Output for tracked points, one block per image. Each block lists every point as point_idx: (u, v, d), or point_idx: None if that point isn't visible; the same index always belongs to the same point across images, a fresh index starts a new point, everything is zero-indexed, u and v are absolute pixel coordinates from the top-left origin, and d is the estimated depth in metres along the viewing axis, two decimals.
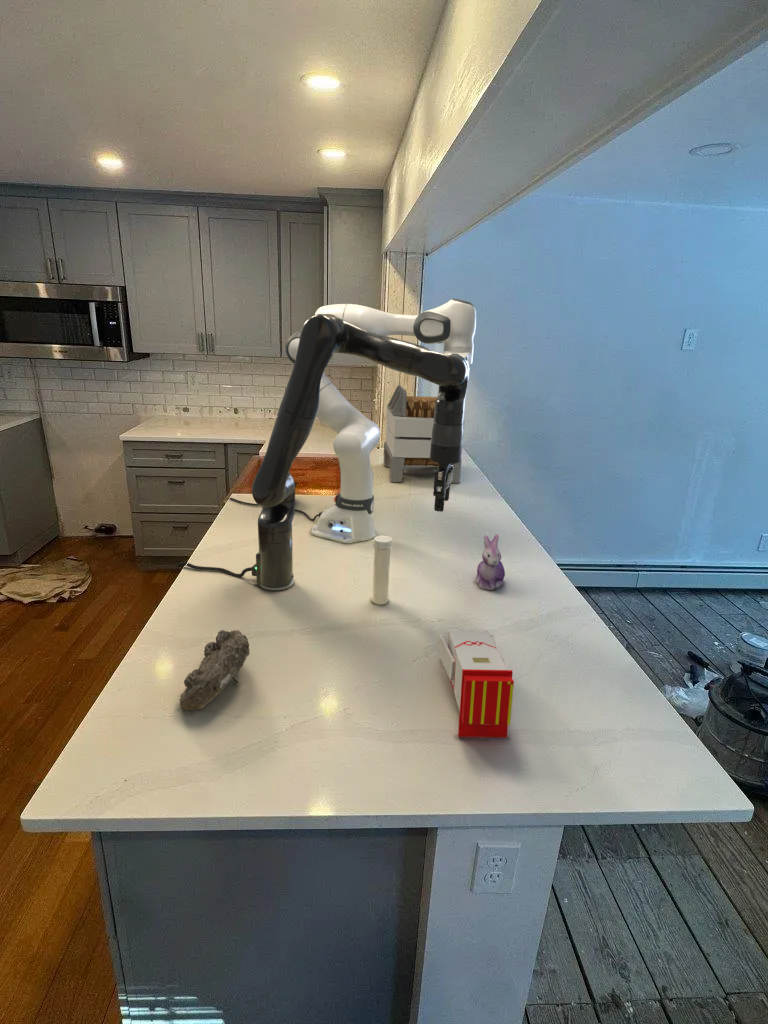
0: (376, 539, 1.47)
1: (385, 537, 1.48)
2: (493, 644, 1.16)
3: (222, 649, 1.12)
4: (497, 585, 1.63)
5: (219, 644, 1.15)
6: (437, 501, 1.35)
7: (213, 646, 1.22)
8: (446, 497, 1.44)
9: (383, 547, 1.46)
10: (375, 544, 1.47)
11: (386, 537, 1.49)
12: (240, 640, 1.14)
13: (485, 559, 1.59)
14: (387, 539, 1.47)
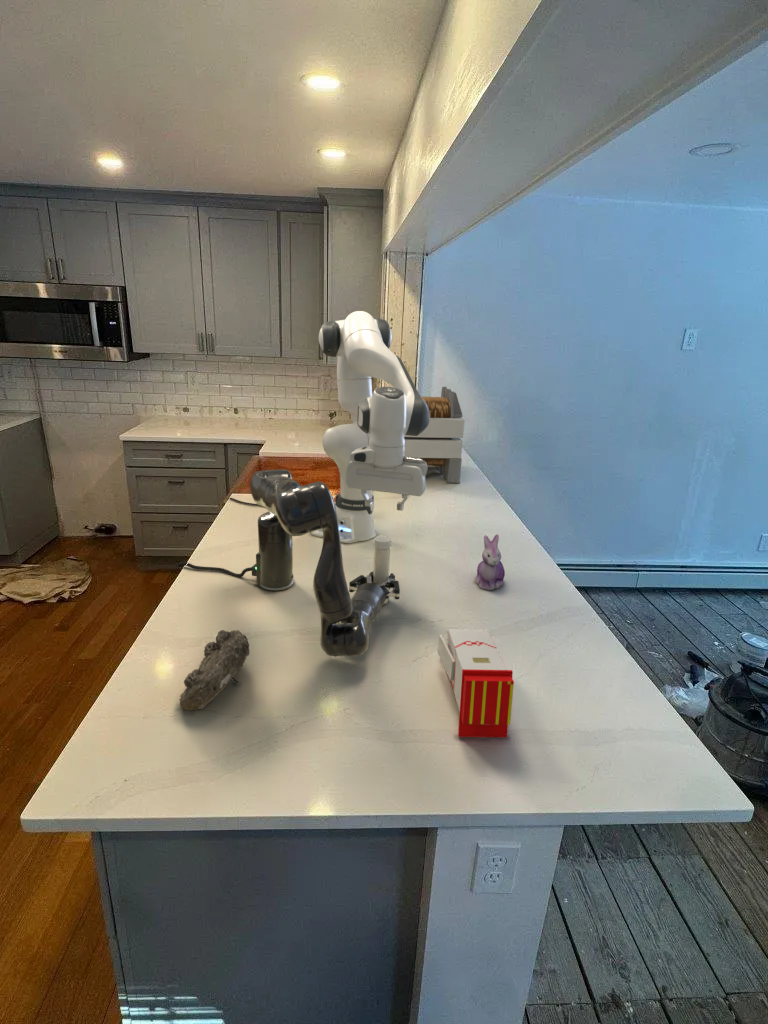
0: (376, 539, 1.47)
1: (385, 537, 1.48)
2: (493, 644, 1.16)
3: (222, 649, 1.12)
4: (497, 585, 1.63)
5: (219, 644, 1.15)
6: None
7: (213, 646, 1.22)
8: None
9: (383, 547, 1.46)
10: (375, 544, 1.47)
11: (386, 537, 1.49)
12: (240, 640, 1.14)
13: (485, 559, 1.59)
14: (387, 539, 1.47)
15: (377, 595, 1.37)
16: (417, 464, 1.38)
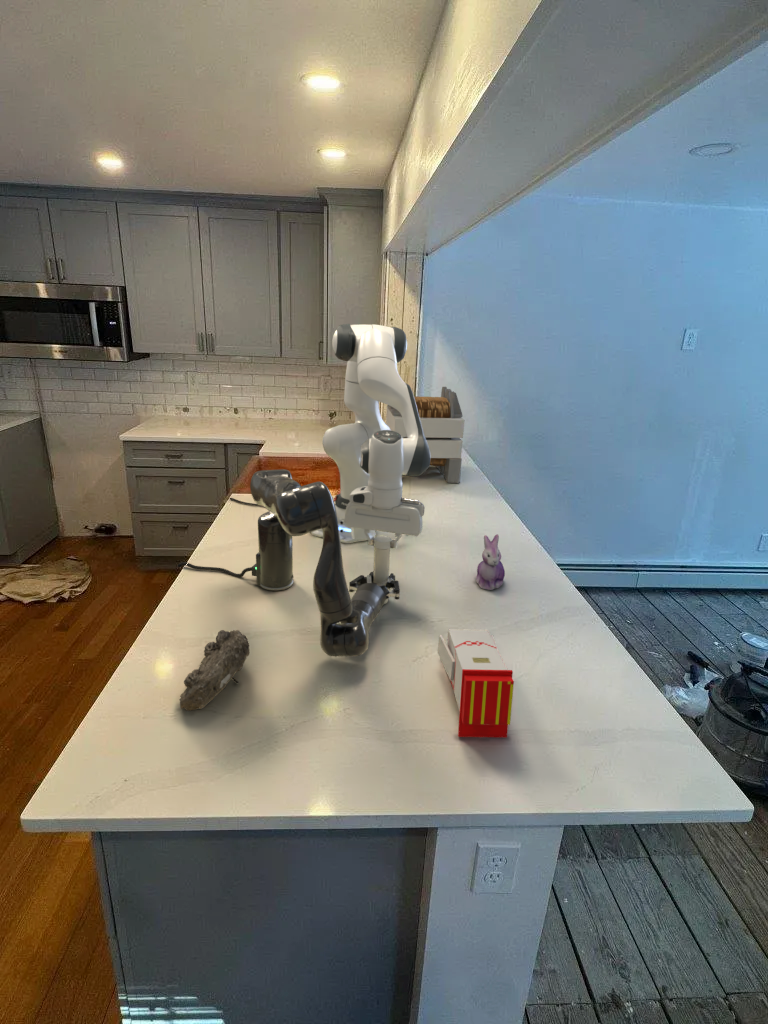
0: (376, 539, 1.47)
1: (385, 537, 1.48)
2: (493, 644, 1.16)
3: (222, 649, 1.12)
4: (497, 585, 1.63)
5: (219, 644, 1.15)
6: None
7: (213, 646, 1.22)
8: None
9: (383, 547, 1.46)
10: (375, 544, 1.47)
11: (386, 537, 1.48)
12: (240, 640, 1.14)
13: (485, 559, 1.59)
14: (387, 539, 1.47)
15: (377, 595, 1.37)
16: (414, 505, 1.42)
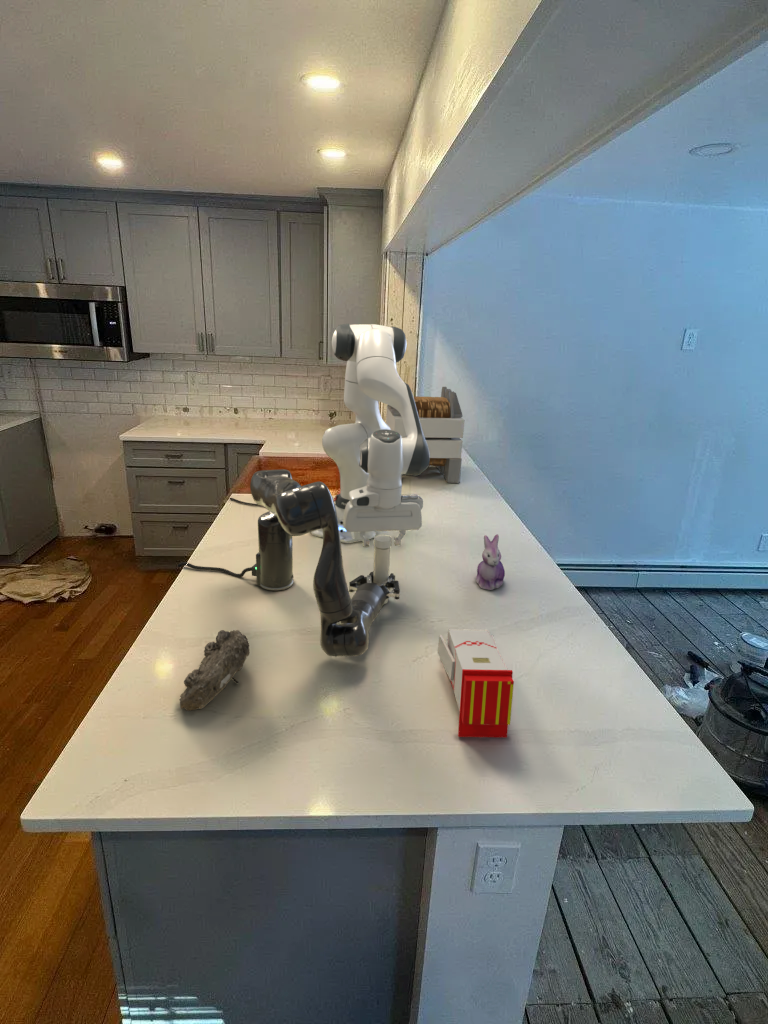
0: (382, 540, 1.46)
1: (380, 536, 1.48)
2: (493, 644, 1.16)
3: (222, 649, 1.12)
4: (497, 585, 1.63)
5: (219, 644, 1.15)
6: None
7: (213, 646, 1.22)
8: None
9: (390, 544, 1.47)
10: (383, 546, 1.46)
11: (380, 536, 1.49)
12: (240, 640, 1.14)
13: (485, 559, 1.59)
14: (385, 536, 1.48)
15: (377, 595, 1.37)
16: (414, 500, 1.45)
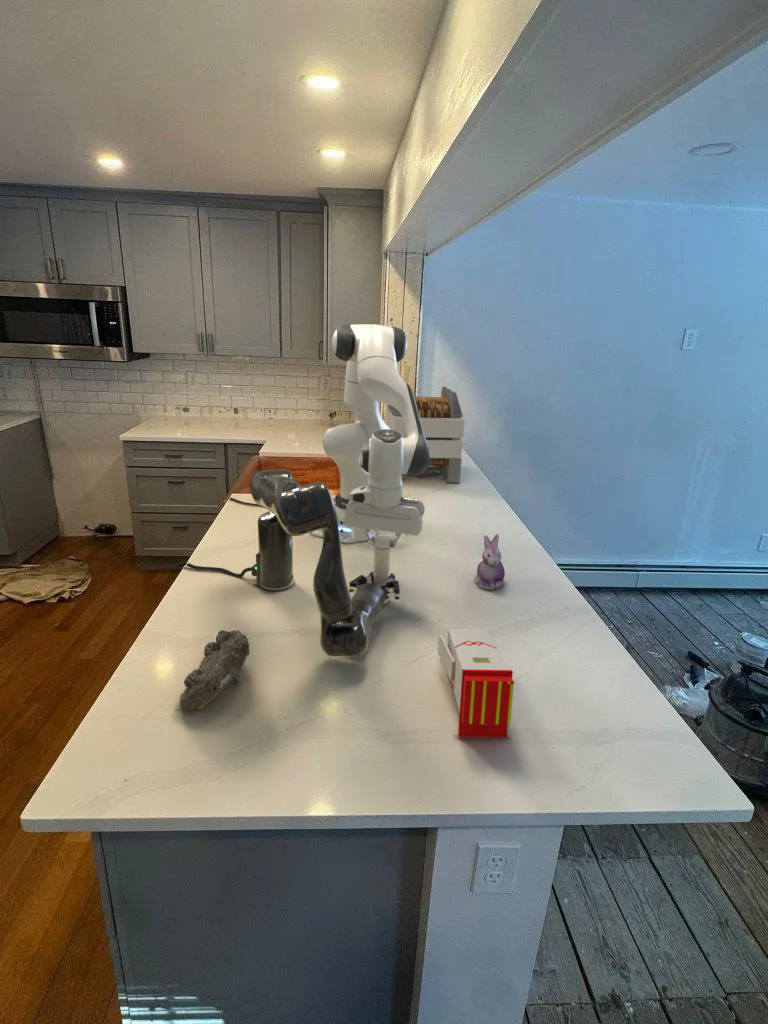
0: (382, 540, 1.46)
1: (380, 536, 1.48)
2: (493, 644, 1.16)
3: (222, 649, 1.12)
4: (497, 585, 1.63)
5: (219, 644, 1.15)
6: None
7: (213, 646, 1.22)
8: None
9: (390, 544, 1.47)
10: (384, 546, 1.46)
11: (380, 536, 1.49)
12: (240, 640, 1.14)
13: (485, 559, 1.59)
14: (385, 536, 1.48)
15: (377, 595, 1.37)
16: (414, 504, 1.42)
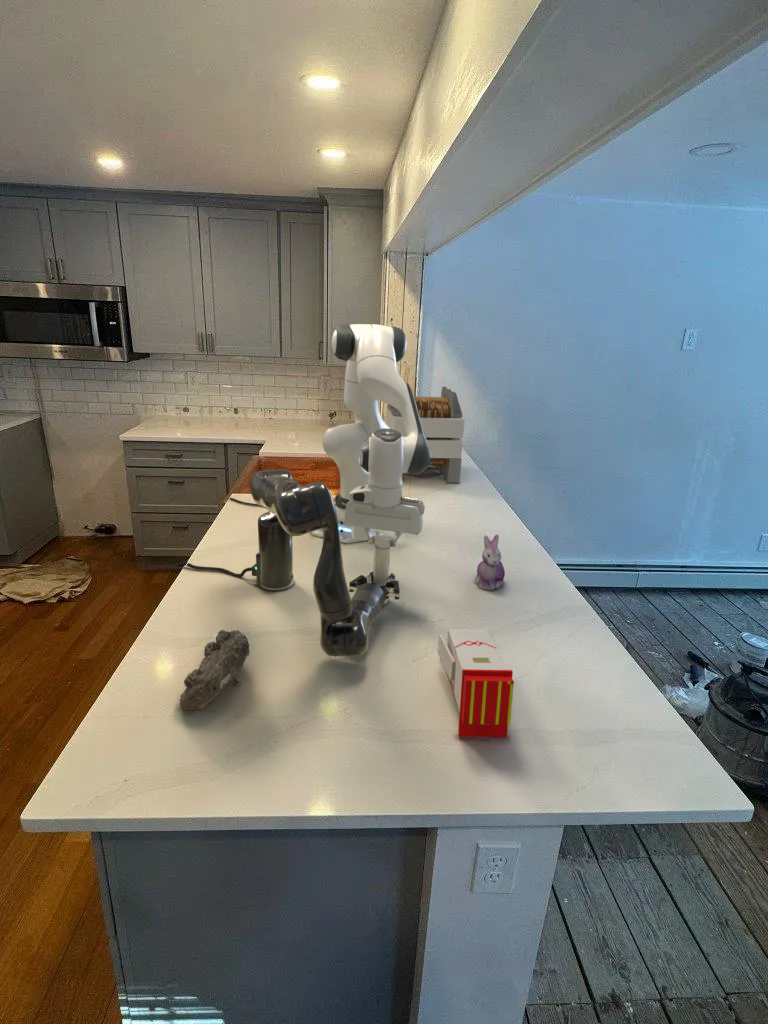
0: (388, 538, 1.47)
1: (378, 537, 1.47)
2: (493, 644, 1.16)
3: (222, 649, 1.12)
4: (497, 585, 1.63)
5: (219, 644, 1.15)
6: None
7: (213, 646, 1.22)
8: None
9: None
10: (390, 543, 1.47)
11: (377, 537, 1.47)
12: (240, 640, 1.14)
13: (485, 559, 1.59)
14: (380, 536, 1.48)
15: (377, 595, 1.37)
16: (414, 504, 1.42)
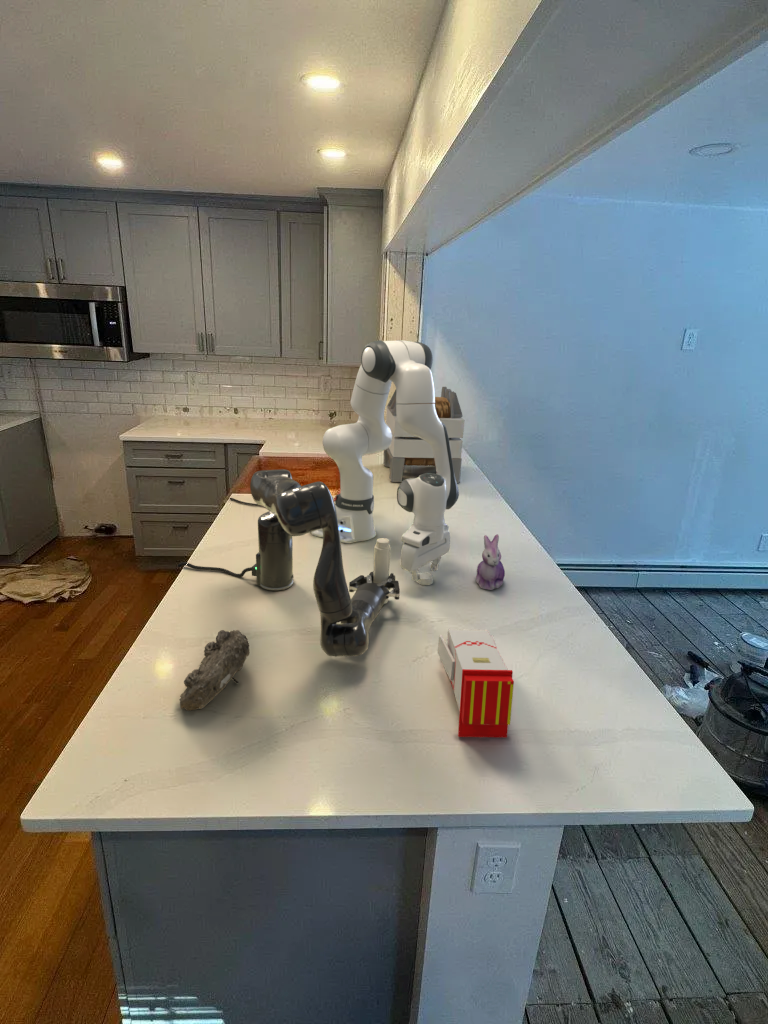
0: (429, 574, 1.66)
1: (424, 577, 1.64)
2: (493, 644, 1.16)
3: (222, 649, 1.12)
4: (497, 585, 1.63)
5: (219, 644, 1.15)
6: None
7: (213, 646, 1.22)
8: None
9: None
10: None
11: (423, 577, 1.64)
12: (240, 640, 1.14)
13: (485, 559, 1.59)
14: (421, 575, 1.65)
15: (377, 595, 1.37)
16: (444, 528, 1.67)
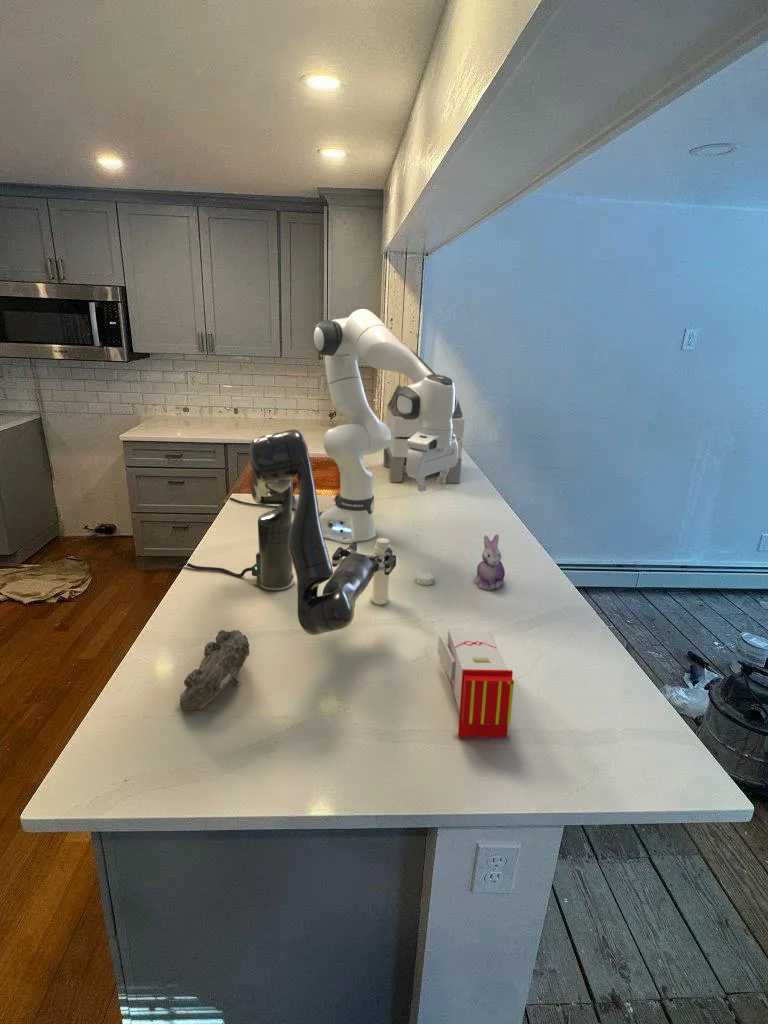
0: (429, 574, 1.66)
1: (424, 577, 1.64)
2: (493, 644, 1.16)
3: (222, 649, 1.12)
4: (497, 585, 1.63)
5: (219, 644, 1.15)
6: None
7: (213, 646, 1.22)
8: None
9: None
10: None
11: (423, 577, 1.64)
12: (240, 640, 1.14)
13: (485, 559, 1.59)
14: (421, 575, 1.65)
15: (365, 566, 1.22)
16: (452, 439, 1.57)
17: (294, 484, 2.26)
